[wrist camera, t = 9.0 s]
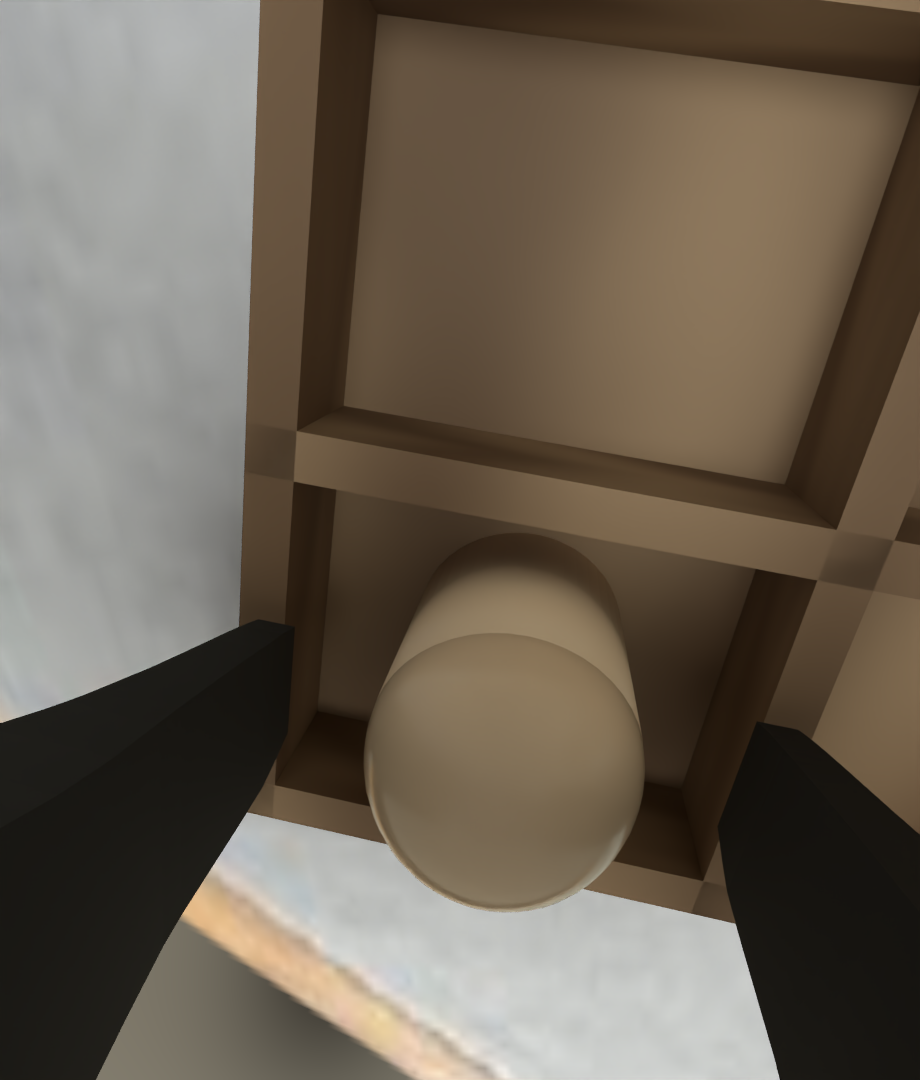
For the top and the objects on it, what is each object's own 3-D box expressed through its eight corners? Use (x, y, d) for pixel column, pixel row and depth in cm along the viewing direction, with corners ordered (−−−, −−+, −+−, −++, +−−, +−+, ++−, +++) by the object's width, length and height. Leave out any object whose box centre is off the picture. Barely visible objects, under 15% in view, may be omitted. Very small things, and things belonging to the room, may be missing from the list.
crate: (290, 717, 16) (233, 809, 13) (343, -41, 11) (265, -157, 8) (1116, 895, 14) (1248, 1040, 12) (1648, 126, 9) (2117, 57, 6)
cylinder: (408, 689, 14) (314, 943, 9) (433, 515, 13) (338, 688, 7) (595, 728, 14) (618, 1017, 9) (642, 554, 13) (708, 766, 7)
